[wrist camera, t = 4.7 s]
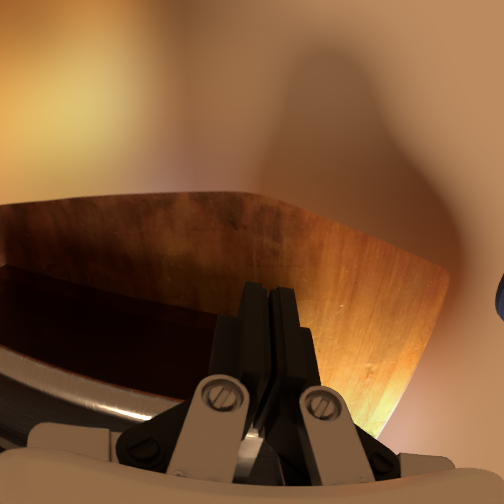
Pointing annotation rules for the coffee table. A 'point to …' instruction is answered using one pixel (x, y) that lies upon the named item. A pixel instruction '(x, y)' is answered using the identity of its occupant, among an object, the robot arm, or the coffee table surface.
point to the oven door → (102, 362)
